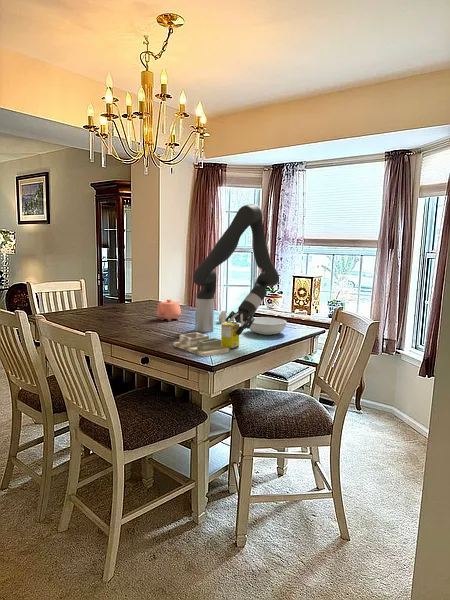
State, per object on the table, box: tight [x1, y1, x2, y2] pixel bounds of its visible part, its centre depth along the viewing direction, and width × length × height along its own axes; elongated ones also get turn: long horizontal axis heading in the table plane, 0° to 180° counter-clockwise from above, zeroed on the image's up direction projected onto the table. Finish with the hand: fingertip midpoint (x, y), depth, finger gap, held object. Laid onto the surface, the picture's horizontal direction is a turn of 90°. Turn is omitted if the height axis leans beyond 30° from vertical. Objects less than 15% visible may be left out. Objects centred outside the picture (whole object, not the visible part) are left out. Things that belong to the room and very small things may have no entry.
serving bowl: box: [248, 316, 287, 336], centre depth 218 cm, size 21×21×7 cm
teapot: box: [156, 298, 182, 322], centre depth 246 cm, size 20×12×12 cm, turn 148°
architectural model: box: [216, 310, 228, 325], centre depth 242 cm, size 3×7×7 cm, turn 153°
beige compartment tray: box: [173, 331, 230, 358], centre depth 184 cm, size 22×14×5 cm, turn 41°
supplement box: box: [220, 322, 240, 351], centre depth 187 cm, size 6×6×11 cm
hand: (231, 332), depth 186 cm, fingers open, 8 cm apart
